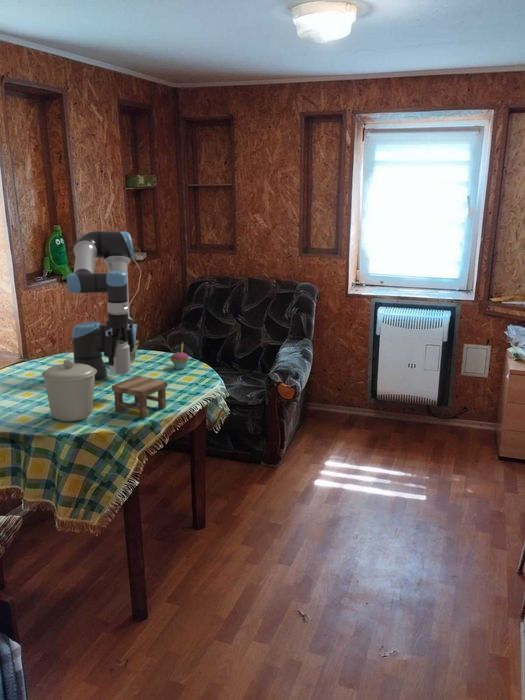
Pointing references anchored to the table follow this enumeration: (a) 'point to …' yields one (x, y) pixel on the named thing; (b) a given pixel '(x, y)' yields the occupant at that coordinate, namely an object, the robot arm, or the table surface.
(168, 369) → the table surface
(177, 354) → the cupcake
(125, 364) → the can
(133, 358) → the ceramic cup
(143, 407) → the stool
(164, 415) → the table surface
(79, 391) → the canister
